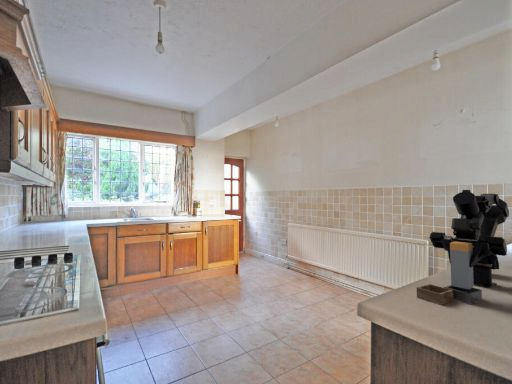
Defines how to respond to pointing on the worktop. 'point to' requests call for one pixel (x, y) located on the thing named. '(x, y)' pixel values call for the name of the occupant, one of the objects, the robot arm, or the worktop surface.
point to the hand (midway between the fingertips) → (460, 264)
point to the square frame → (435, 294)
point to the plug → (461, 265)
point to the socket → (466, 294)
